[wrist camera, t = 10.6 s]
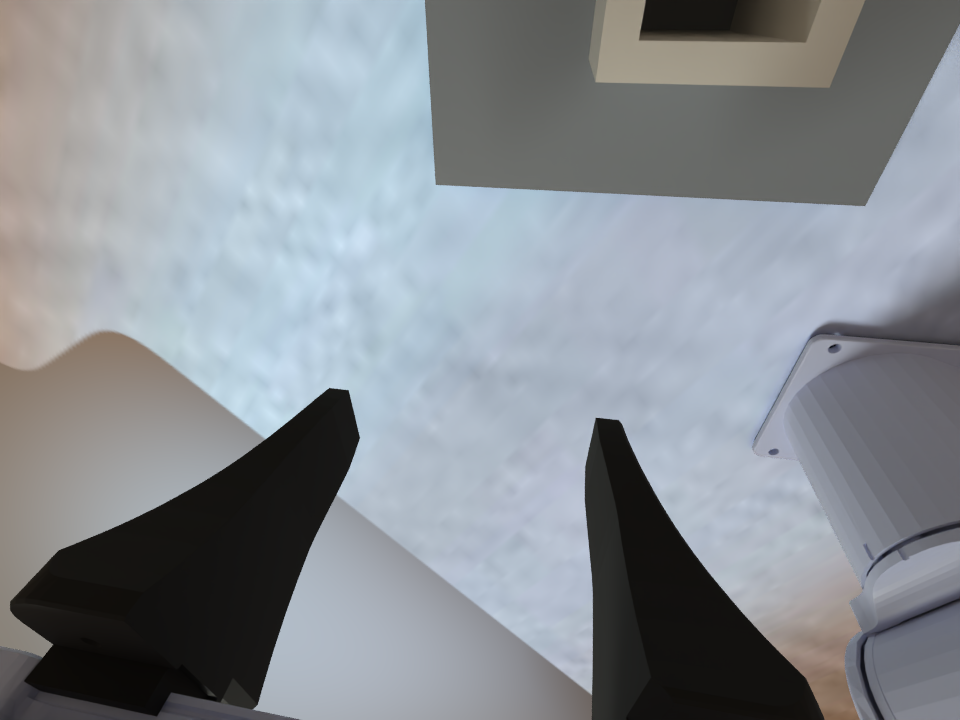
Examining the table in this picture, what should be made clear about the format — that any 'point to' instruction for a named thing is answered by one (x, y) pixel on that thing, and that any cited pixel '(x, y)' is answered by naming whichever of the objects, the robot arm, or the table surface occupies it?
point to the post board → (668, 106)
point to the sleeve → (726, 45)
